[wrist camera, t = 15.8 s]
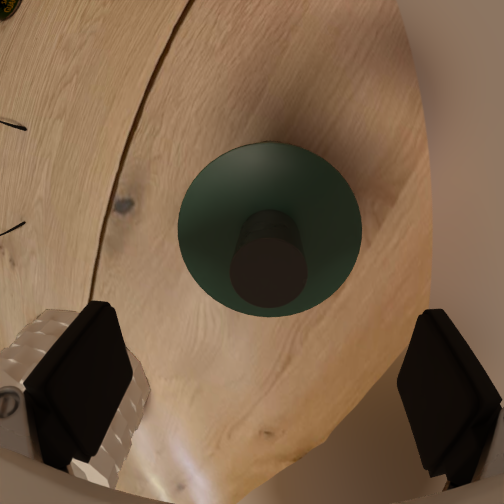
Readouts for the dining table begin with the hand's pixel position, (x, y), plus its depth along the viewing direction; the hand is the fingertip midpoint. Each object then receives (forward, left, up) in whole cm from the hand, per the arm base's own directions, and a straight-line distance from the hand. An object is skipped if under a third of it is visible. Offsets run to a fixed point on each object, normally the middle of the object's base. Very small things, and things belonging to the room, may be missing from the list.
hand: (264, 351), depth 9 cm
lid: (0, +1, -13) cm, 13 cm away
